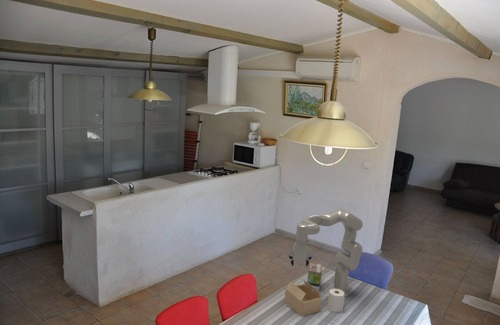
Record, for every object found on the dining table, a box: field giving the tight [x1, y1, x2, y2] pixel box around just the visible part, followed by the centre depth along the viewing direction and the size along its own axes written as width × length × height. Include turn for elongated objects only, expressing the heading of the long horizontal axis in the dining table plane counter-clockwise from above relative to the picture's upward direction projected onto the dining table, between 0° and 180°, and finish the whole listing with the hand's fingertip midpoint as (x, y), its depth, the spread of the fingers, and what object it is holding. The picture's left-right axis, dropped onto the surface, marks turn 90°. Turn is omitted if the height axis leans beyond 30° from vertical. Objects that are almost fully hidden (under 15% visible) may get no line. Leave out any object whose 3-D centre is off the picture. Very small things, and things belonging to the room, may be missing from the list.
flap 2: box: [301, 278, 322, 297], centre depth 276 cm, size 6×18×1 cm
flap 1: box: [285, 281, 306, 301], centre depth 270 cm, size 6×18×1 cm
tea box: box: [306, 262, 323, 291], centre depth 304 cm, size 15×10×15 cm
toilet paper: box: [327, 287, 345, 313], centre depth 274 cm, size 10×10×12 cm
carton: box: [284, 283, 323, 317], centre depth 274 cm, size 16×21×10 cm
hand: (299, 265), depth 269 cm, fingers open, 9 cm apart
